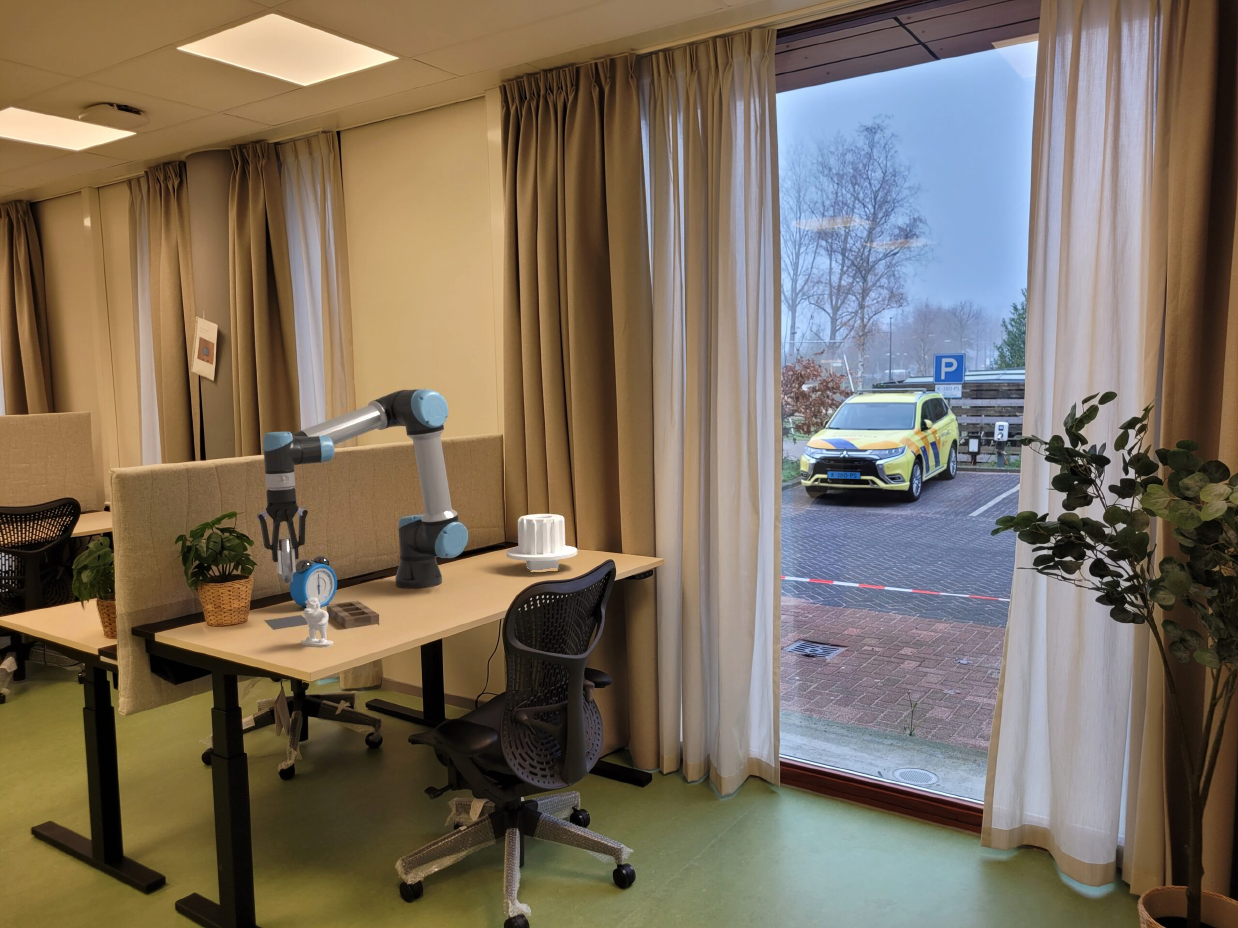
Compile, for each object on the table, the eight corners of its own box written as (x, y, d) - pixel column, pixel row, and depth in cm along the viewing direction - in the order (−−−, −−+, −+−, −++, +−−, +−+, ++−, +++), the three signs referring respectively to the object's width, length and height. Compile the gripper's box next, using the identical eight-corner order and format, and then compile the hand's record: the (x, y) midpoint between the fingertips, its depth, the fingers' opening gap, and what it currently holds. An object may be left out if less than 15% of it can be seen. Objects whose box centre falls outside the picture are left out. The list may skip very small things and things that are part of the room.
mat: (264, 621, 254) (264, 620, 254) (301, 616, 260) (301, 614, 260) (273, 630, 244) (273, 629, 244) (311, 625, 249) (311, 623, 249)
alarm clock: (304, 613, 263) (301, 562, 262) (289, 611, 266) (287, 560, 265) (338, 603, 274) (336, 554, 273) (324, 601, 278) (322, 553, 276)
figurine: (292, 646, 229) (290, 599, 228) (310, 639, 235) (308, 593, 234) (320, 649, 226) (318, 602, 225) (338, 642, 232) (336, 596, 231)
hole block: (326, 615, 260) (326, 604, 260) (358, 610, 265) (357, 600, 265) (346, 630, 244) (345, 619, 243) (379, 624, 248) (378, 614, 248)
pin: (280, 581, 252) (277, 538, 251) (291, 579, 253) (288, 537, 252) (282, 583, 249) (279, 540, 248) (293, 581, 251) (291, 538, 250)
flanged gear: (511, 578, 306) (509, 523, 304) (503, 565, 330) (501, 513, 329) (583, 574, 312) (582, 519, 310) (570, 561, 336) (569, 510, 334)
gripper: (252, 492, 241) (258, 578, 244) (314, 486, 250) (319, 570, 252) (247, 489, 248) (253, 574, 250) (307, 484, 256) (312, 566, 258)
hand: (286, 572), depth 251 cm, fingers closed on pin, 3 cm apart
